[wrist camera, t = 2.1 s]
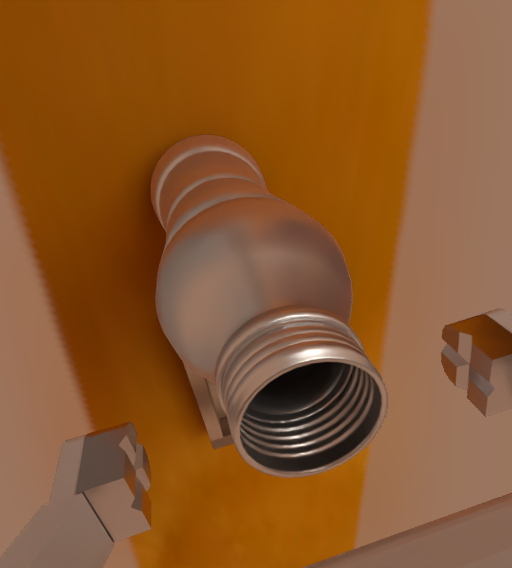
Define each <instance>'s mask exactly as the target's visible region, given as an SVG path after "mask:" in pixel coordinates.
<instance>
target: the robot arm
mask: <svg viewBox="0 0 512 568" xmlns="http://www.w3.org/2000/svg"><path fill="white" fill-rule="evenodd" d="M442 339H443V340H444V341H445V342H447V345H446V346H445V347H444V349H443V350H442V352H441V355H442V356H441V357H442V360H441V362H442V365H443V368H444V371H445V373H446V374H447V376H448V378H449V379H450V380H451V381H452V382H453V383H454V385H455V386H457V387H460V388H462V389H465V390H467V398H468V399H469V400H470V401H471V402H472V403H473V404H474V406H476V408H478V410H479V411H480V412H481V413H482V414H483V415H484V416H485V417H487V416H490V415H493V414H497V413H500V412H503V411H506V410H509V409H512V314H510V313H509V312H508V311H506V310H504V309H500V308H498V309H494V310H491V311H488V312H485V313H482V314H480V315H477V316H474V317H470V318H467V319H464V320H461V321H457V322H454V323H451V324H448V325H445V327H444V329H443V331H442ZM150 486H151V473H150V466H149V461H148V458H147V454H146V451H145V449H144V447H143V445H141V444H139V443H137V432H136V430H135V428H134V427H133V425H132V423H130V422H128V423H124V424H121V425H117V426H113V427H110V428H106V429H103V430H99V431H96V432H92V433H89V434H87V435H84V436H80V437H76V438H73V439H69V440H66V441H65V443H64V444H63V445H62V448H61V452H60V457H59V461H58V465H57V470H56V474H55V478H54V483H53V487H52V492H51V496H50V500H49V503H48V504H45V505H43V506H41V508H40V509H39V510H38V511H37V513H36V514H35V515H34V516H33V517H32V519H31V520H30V521H29V523H28V524H27V525H26V526H25V527H24V529H23V530H22V531H21V532H20V534H19V535H18V536H17V537H16V538H15V540H14V541H13V542H12V543H11V545H10V546H9V547H8V548H7V550H6V551H5V552H4V553H3V555H2V556H1V557H0V568H103V567H104V565H105V563H106V560H107V559H108V557H109V555H110V553H111V551H112V549H113V547H114V542H117V541H120V540H122V539H125V538H128V537H131V536H133V535H136V534H139V533H142V532H144V531H147V530H150V529H151V501H150V499H149V496H148V494H147V490H148V489H149V487H150ZM303 568H512V493H509V494H506V495H503V496H501V497H498V498H495V499H492V500H490V501H487V502H484V503H481V504H478V505H476V506H473V507H470V508H467V509H465V510H462V511H459V512H456V513H453V514H451V515H448V516H445V517H442V518H440V519H437V520H434V521H432V522H428V523H426V524H423V525H420V526H417V527H415V528H412V529H409V530H407V531H403V532H401V533H398V534H395V535H392V536H390V537H387V538H384V539H381V540H379V541H376V542H373V543H370V544H368V545H365V546H362V547H359V548H356V549H353V550H351V551H348V552H345V553H342V554H340V555H337V556H334V557H331V558H328V559H326V560H323V561H320V562H317V563H315V564H312V565H309V566H306V567H303Z"/></svg>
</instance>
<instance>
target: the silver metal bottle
mask: <svg viewBox="0 0 512 568" xmlns="http://www.w3.org/2000/svg"><path fill="white" fill-rule="evenodd" d="M150 192H151V201H152V205H153V208H154V211H155V214H156V216H157V218H158V220H159V222H160V223H161V225H162V227H163V229H164V230H165V231H166V244H165V247H164V251H163V254H162V258H161V261H160V264H159V267H158V275H157V284H156V294H155V303H156V311H157V317H158V320H159V322H160V325H161V328H162V330H163V333H164V334H165V336H166V337H167V339H168V340H169V342H170V344H171V345H172V347H173V348H174V350H175V351H176V353H177V354H178V356H179V357H180V359H181V360H182V361H183V362H184V363H185V364H186V365H187V366H188V367H189V368H191V369H192V370H193V371H194V372H196V373H198V374H199V375H201V376H202V377H204V378H206V379H207V380H209V381H211V382H213V383H214V384H215V386H216V391H217V395H218V398H219V401H220V404H221V407H222V409H223V410H224V412H225V414H226V415H227V419H228V423H229V427H230V432H231V435H232V438H233V441H234V444H235V445H236V447H237V450H238V452H239V453H240V455H241V456H242V458H243V459H244V460H245V461H246V462H247V463H248V464H249V465H251V466H252V467H253V468H255V469H257V470H259V471H261V472H263V473H266V474H269V475H273V476H279V477H304V476H310V475H315V474H318V473H322V472H325V471H328V470H330V469H333V468H335V467H337V466H339V465H341V464H343V463H345V462H346V461H348V460H350V459H351V458H353V457H354V456H355V455H357V454H358V453H359V452H360V451H362V450H363V449H364V448H365V447H366V446H367V445H368V444H369V443H370V442H371V441H372V440H373V438H374V437H375V436H376V434H377V433H378V431H379V430H380V428H381V426H382V424H383V421H384V419H385V417H386V413H387V408H388V394H387V390H386V387H385V384H384V382H383V381H382V377H381V375H380V374H379V372H378V371H377V369H376V368H375V366H374V365H373V364H372V363H371V361H370V360H369V358H368V357H367V356H366V354H365V352H364V349H363V346H362V343H361V342H360V340H359V339H358V337H357V335H356V334H355V333H354V331H353V330H352V329H351V327H350V326H349V319H350V314H351V307H352V299H353V296H352V283H351V280H350V276H349V273H348V269H347V266H346V263H345V259H344V256H343V253H342V251H341V249H340V247H339V246H338V244H337V242H336V241H335V239H334V237H333V236H332V235H331V234H330V233H329V232H328V231H327V230H326V229H325V228H324V227H323V226H322V225H321V224H320V223H319V222H317V221H316V220H315V219H313V218H312V217H311V216H309V215H308V214H306V213H305V212H303V211H302V210H300V209H299V208H297V207H295V206H293V205H291V204H289V203H287V202H285V201H283V200H281V199H279V198H277V197H275V196H274V195H273V194H271V193H270V192H269V191H268V190H267V188H266V183H265V181H264V178H263V176H262V173H261V171H260V168H259V166H258V165H257V163H256V162H255V160H254V158H253V157H252V156H251V155H250V154H249V153H248V152H247V151H246V150H245V149H244V148H243V147H241V146H240V145H238V144H237V143H236V142H234V141H231V140H229V139H227V138H225V137H220V136H216V135H197V136H192V137H188V138H185V139H183V140H181V141H178V142H177V143H176V144H174V145H173V146H172V147H170V148H169V149H168V150H167V151H166V152H165V153H164V154H163V155H162V157H161V158H160V160H159V161H158V163H157V165H156V167H155V169H154V172H153V175H152V179H151V188H150Z"/></svg>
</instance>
